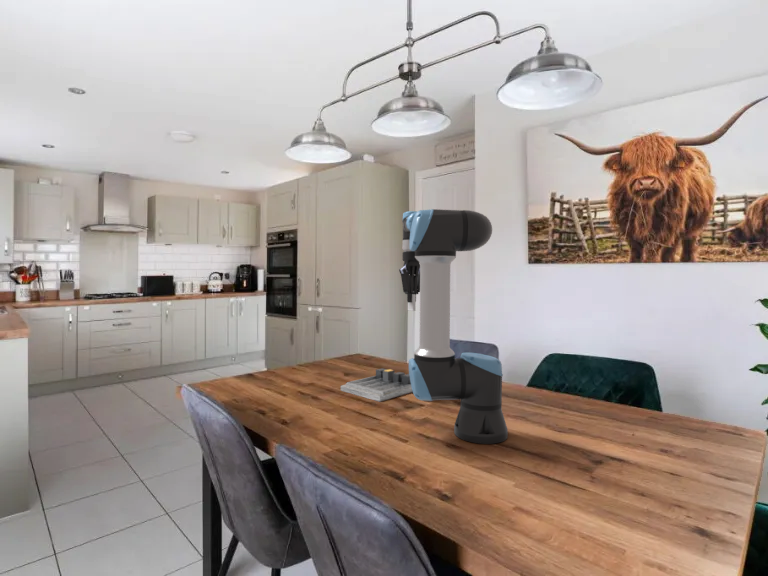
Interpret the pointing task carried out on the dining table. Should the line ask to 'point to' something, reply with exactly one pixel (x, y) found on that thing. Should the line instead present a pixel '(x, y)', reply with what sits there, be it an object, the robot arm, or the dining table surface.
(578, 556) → the dining table surface
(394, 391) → the panel
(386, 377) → the toggle
